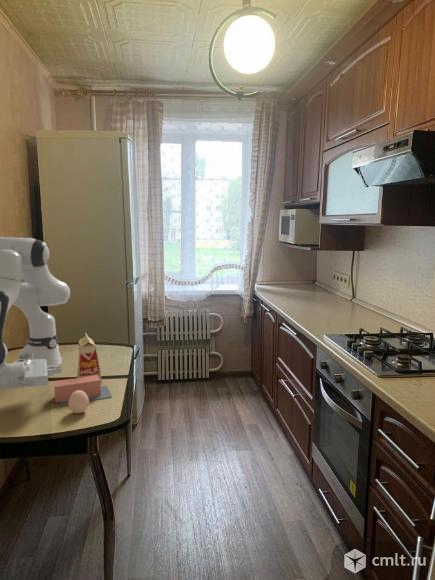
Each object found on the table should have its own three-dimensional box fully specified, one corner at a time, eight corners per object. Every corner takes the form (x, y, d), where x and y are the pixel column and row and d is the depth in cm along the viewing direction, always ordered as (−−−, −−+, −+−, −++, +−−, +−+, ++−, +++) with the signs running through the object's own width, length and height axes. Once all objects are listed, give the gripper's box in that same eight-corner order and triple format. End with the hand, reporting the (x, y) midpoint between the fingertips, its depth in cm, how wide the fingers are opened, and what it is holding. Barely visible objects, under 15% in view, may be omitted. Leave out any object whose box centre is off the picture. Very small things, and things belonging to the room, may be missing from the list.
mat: (60, 405, 146) (60, 405, 146) (59, 393, 157) (59, 392, 157) (111, 397, 154) (111, 396, 153) (107, 386, 164) (106, 385, 164)
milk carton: (76, 379, 172) (73, 333, 169) (99, 376, 176) (96, 330, 173) (78, 387, 164) (75, 338, 161) (102, 383, 167) (99, 335, 164)
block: (54, 386, 148) (100, 380, 154) (53, 381, 153) (98, 374, 159) (55, 402, 149) (101, 395, 155) (55, 396, 154) (98, 389, 160)
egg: (88, 415, 139) (87, 393, 138) (68, 417, 137) (66, 395, 136) (90, 407, 145) (89, 386, 144) (70, 409, 144) (69, 387, 143)
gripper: (17, 375, 135) (62, 369, 141) (19, 358, 154) (59, 353, 159) (19, 394, 136) (63, 387, 142) (21, 374, 155) (60, 368, 160)
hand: (61, 369), depth 151 cm, fingers closed
